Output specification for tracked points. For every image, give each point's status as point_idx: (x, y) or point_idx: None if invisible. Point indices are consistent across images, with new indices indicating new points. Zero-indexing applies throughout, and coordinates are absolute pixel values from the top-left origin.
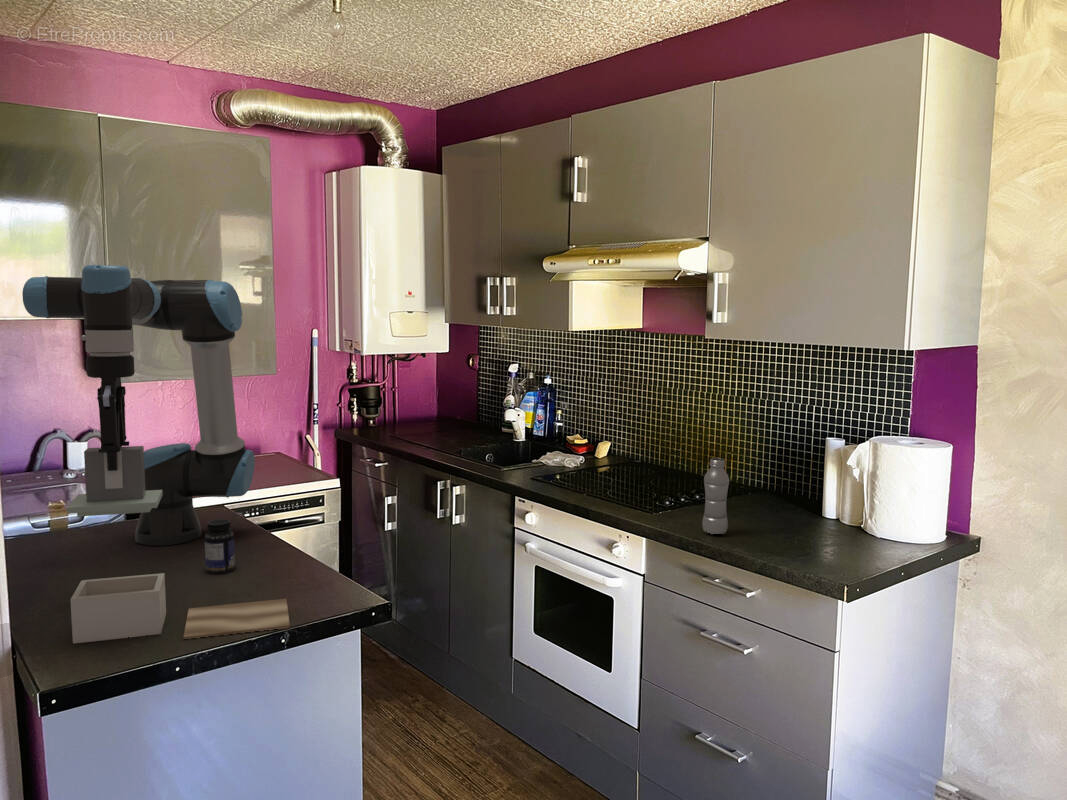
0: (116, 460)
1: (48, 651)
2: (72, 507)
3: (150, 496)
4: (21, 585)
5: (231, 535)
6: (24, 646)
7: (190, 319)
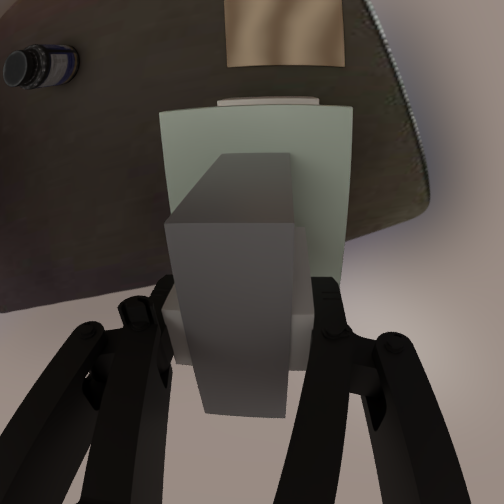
0: (333, 303)
1: None
2: None
3: (257, 133)
4: (102, 291)
5: (36, 45)
6: None
7: None
